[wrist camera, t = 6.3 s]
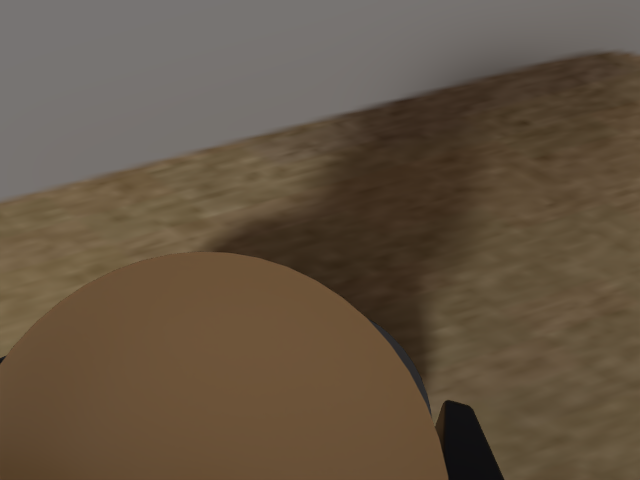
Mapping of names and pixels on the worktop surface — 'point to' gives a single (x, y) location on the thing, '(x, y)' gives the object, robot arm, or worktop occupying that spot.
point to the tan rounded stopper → (212, 382)
